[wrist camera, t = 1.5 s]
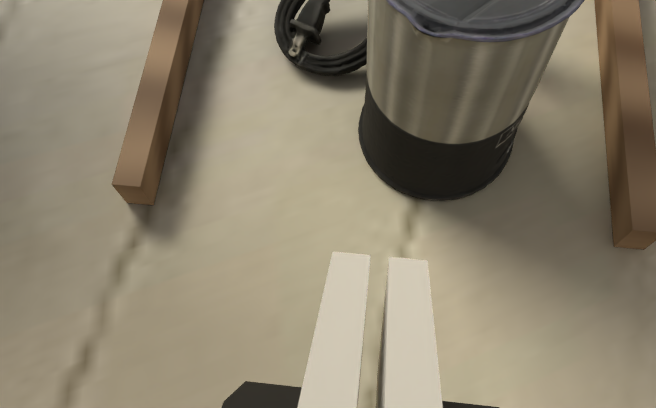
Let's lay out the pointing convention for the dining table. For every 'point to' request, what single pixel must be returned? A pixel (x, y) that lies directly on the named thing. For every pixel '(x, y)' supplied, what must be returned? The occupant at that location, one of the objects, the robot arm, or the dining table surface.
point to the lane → (617, 96)
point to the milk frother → (437, 82)
